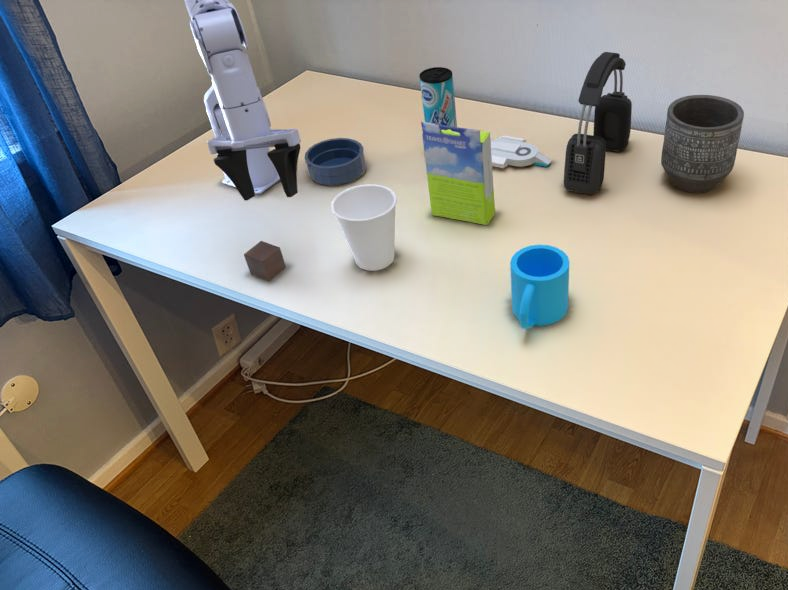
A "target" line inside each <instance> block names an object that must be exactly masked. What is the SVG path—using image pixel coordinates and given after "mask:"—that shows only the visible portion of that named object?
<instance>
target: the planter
mask: <svg viewBox="0 0 788 590" xmlns="http://www.w3.org/2000/svg"><path fill="white" fill-rule="evenodd" d="M744 116H745V111H744V109H743V108H742V106H741V105H740V104H738V103H737V102H736V101H734V100H732V99H729V98H726V97H722V96H718V95H711V94H693V95H685V96H681V97H679V98H677V99H675V100H673V101H672V102H671V103H670V104H669V105H668V107H667V111H666V120H665V126H664V134H663V142H662V149H661V157H660V159H661V160H660V163H661V166H662V169H663V171H664V174H665V175H666V177H667V179H668V181H670V183H671V185H672V186H673V187H674V188H676V189H678V190H679V191H683V192H687V193H693V194H700V193H707V192H710V191H713V190H714V189H715V188H717V186H720V184H721V183H722V182H723V181H724V180H725V179H726V178H727V177H728V176H729V174H730V173H731V172H732V171H733V169H734V166H735V164H736V163H735V162H736V157H737V152H738V146H739V143H740V139H741V132H742V128H743V126H742V125H743V122H744V118H745V117H744Z"/></svg>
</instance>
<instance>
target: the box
mask: <svg viewBox="0 0 788 590" xmlns="http://www.w3.org/2000/svg"><path fill="white" fill-rule="evenodd" d="M420 125H421V129H422V130H421V132H422V134H421V137H422V145H423V153H424V161H425V170H426V177H427V178H426V179H427V185H428V195H429V202H430V211H431V215H432V216H434V217H441V218H446V219H452V220H458V221H461V222H462V221H463V222H469V223H474V224H479V225H483V226H488V225H489V224H490V222H491V221H492V219H493V217H494V216H495V215H496V204H495V202H496V201H495V192H494V190H495V189H494V174H493V166H492V157H491V140H490V139H491V132H490V131H484V130H480V129H473V128H465V127H458V126H457V127H452V126H445V125H439V124H433V123H427V122H425V121H420Z"/></svg>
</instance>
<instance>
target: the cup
mask: <svg viewBox="0 0 788 590" xmlns="http://www.w3.org/2000/svg"><path fill="white" fill-rule="evenodd" d="M397 197H398V196H397V194H396V193H395V192H394V190H393V189H391V188H390V187H388V186H385V185H381V184H373V183H367V184H359V185H354V186H351V187H348V188H346V189H344V190H342V191H341V192H339V193H338V194H337V195H336V196H335V197H334V198H333V199H332V201H331V204H330V209H331V212H332V214H333V215H334V216H335V218H336V220H337V222H338V224H339V227H340V230H341V231H342V233H343V236H344V238H345V240H346V243H347V244H348V247H349V249H350V251H351V254H352V257H353V258H354V261H355V263H356V265H357V266H358V267H359V268H360V269H363V270H364V271H368V272H369V271H370V272H377V271H381V270H384V269H386V268H388V267H389V266H390V265H392V263H393V262H394V261H395V252H396V251H395V248H396V247H395V245H396V244H395V241H396V206H397V203H398V198H397Z"/></svg>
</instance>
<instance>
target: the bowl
mask: <svg viewBox="0 0 788 590" xmlns="http://www.w3.org/2000/svg"><path fill="white" fill-rule="evenodd" d="M304 161H305V166H306V169H307V174H308V176H309V178H310V179H311V180H312V181H314V182H315V183H317V184H318V185H322V186H329V187H330V186H331V187H333V186H334V187H336V186H337V187H338V186H342V185H347V184H350V183H352V182H354V181H356V180H357V179H359V178H360V177H362V175H363V174H364V173H365V172H366V170H367V159H366V154H365V148H364V146H363V144H362V143H361V142H359V141H358V140H356V139H352V138H348V137H336V138H328V139H324V140H321V141H319V142H317V143H314V144H313V145H312V146H310V147H309V148H308V149H307V150H306V151H305V153H304Z"/></svg>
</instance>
